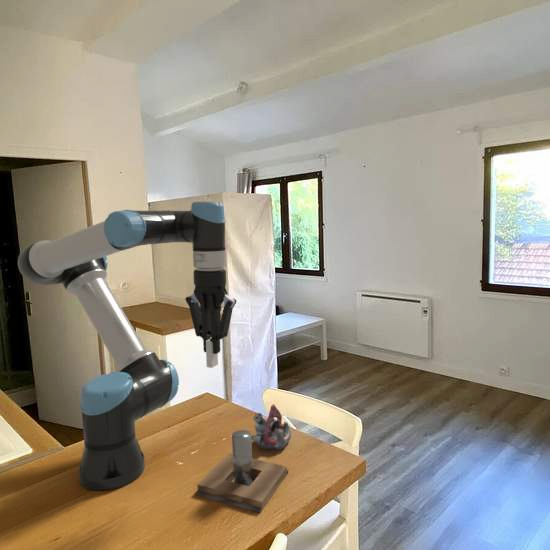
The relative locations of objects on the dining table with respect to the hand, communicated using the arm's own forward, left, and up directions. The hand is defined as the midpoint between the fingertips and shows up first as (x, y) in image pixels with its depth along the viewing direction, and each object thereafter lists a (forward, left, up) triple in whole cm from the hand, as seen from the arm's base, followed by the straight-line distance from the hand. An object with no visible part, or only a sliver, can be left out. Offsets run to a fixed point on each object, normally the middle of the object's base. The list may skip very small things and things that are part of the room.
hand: (212, 365), depth 104 cm
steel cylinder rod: (+10, -4, -26) cm, 28 cm away
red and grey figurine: (+8, +15, -26) cm, 32 cm away
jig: (+10, -4, -26) cm, 28 cm away
